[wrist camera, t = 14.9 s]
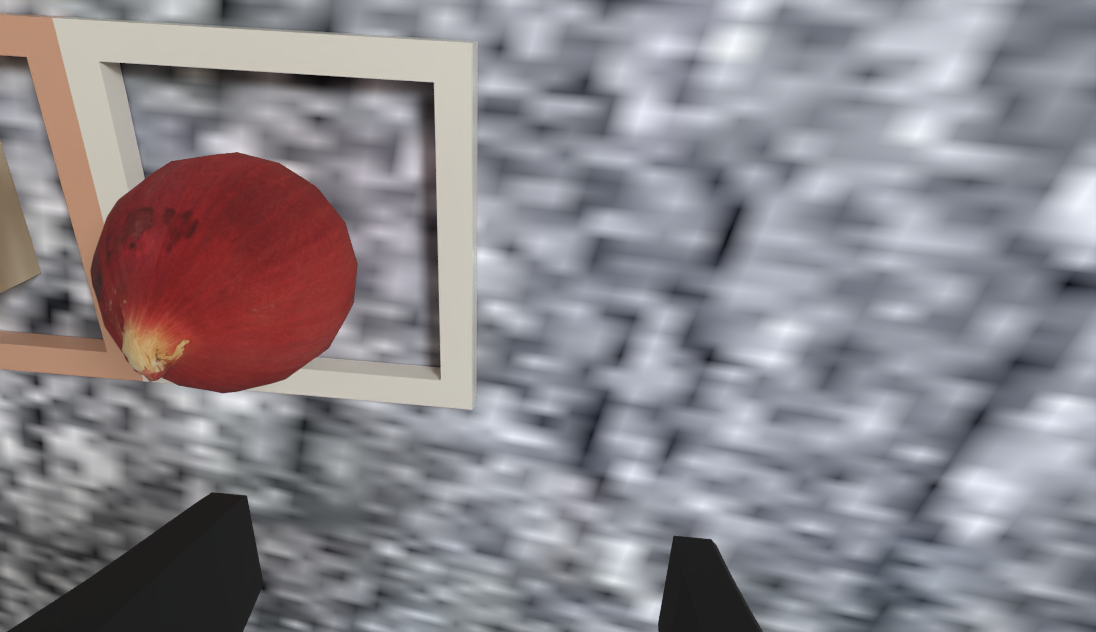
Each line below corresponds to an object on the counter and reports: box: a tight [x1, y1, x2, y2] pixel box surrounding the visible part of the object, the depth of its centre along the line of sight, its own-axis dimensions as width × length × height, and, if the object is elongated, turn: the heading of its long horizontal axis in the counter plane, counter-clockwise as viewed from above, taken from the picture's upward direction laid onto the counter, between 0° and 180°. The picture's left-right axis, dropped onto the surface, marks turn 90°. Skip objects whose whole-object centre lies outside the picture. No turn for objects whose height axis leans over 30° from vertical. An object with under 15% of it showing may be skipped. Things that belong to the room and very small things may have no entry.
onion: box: [90, 152, 357, 393], centre depth 16 cm, size 6×6×8 cm
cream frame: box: [52, 17, 478, 410], centre depth 20 cm, size 11×11×1 cm
